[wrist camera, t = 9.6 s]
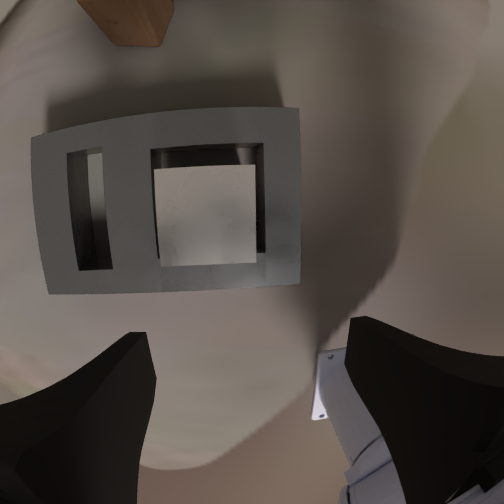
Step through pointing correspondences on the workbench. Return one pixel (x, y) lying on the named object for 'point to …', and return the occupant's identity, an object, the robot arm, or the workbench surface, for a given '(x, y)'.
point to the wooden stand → (131, 20)
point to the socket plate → (144, 205)
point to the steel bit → (206, 215)
